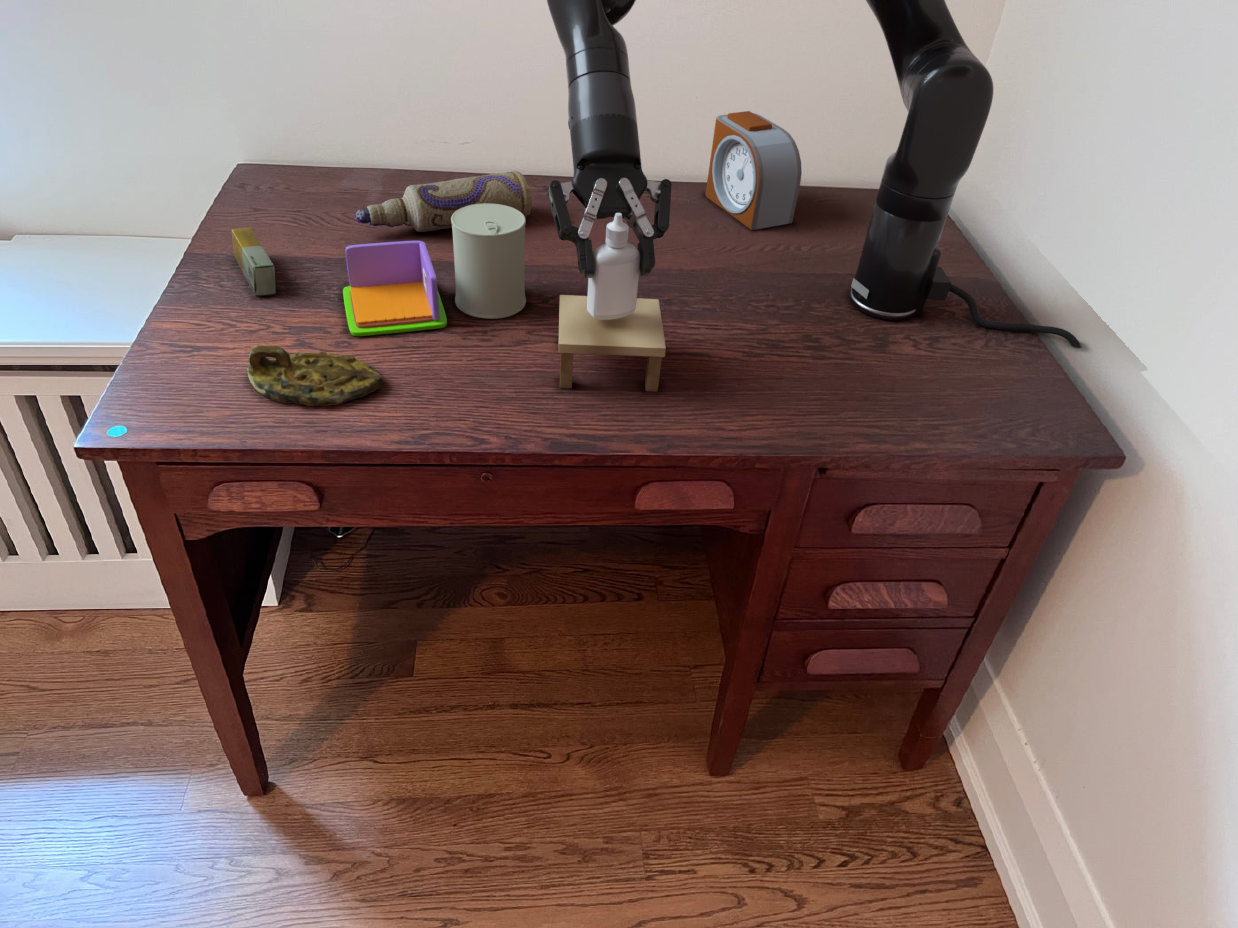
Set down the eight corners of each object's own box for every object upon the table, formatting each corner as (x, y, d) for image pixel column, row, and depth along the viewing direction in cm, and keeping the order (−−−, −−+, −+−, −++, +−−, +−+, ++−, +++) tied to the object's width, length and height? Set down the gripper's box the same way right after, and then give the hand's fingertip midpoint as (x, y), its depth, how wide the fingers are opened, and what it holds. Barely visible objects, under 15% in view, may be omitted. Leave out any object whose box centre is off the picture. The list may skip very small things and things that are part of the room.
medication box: (277, 295, 114) (275, 266, 111) (255, 297, 112) (253, 268, 110) (253, 253, 121) (250, 225, 119) (232, 255, 120) (229, 227, 117)
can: (460, 322, 112) (455, 233, 104) (450, 286, 118) (445, 201, 111) (532, 316, 114) (532, 229, 106) (518, 282, 121) (518, 197, 113)
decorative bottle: (515, 204, 140) (515, 163, 135) (533, 224, 135) (533, 182, 130) (350, 225, 130) (344, 181, 126) (363, 248, 125) (357, 203, 121)
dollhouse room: (434, 282, 119) (431, 234, 115) (449, 328, 110) (446, 279, 106) (341, 290, 116) (334, 241, 111) (350, 338, 107) (342, 287, 103)
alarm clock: (699, 193, 148) (710, 111, 140) (741, 187, 152) (754, 106, 143) (749, 230, 138) (764, 144, 130) (792, 222, 142) (810, 138, 133)
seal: (391, 370, 104) (260, 364, 103) (388, 334, 102) (254, 327, 100) (377, 410, 96) (235, 404, 95) (373, 372, 94) (227, 365, 93)
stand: (653, 342, 111) (658, 299, 107) (660, 393, 103) (666, 348, 99) (558, 338, 110) (559, 294, 106) (556, 389, 102) (558, 343, 98)
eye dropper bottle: (634, 324, 100) (644, 225, 93) (585, 319, 100) (590, 220, 93) (636, 304, 104) (645, 208, 96) (588, 300, 104) (593, 203, 96)
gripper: (543, 110, 93) (558, 267, 92) (674, 111, 96) (690, 262, 95) (535, 142, 100) (549, 287, 99) (657, 141, 103) (672, 282, 102)
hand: (618, 274), depth 97 cm, fingers closed on eye dropper bottle, 5 cm apart
